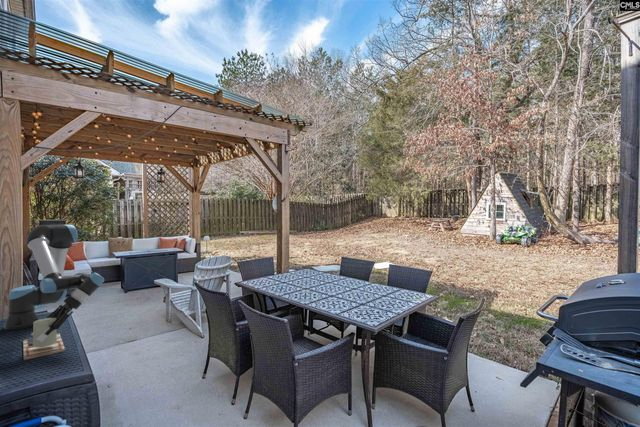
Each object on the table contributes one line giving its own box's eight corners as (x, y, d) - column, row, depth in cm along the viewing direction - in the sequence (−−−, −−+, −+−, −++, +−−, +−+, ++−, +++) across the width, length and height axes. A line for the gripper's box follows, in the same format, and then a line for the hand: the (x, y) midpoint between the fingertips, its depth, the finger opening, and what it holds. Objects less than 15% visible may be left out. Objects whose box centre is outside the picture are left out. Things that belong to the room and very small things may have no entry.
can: (42, 348, 153) (43, 323, 153) (27, 346, 155) (27, 322, 155) (61, 341, 162) (62, 317, 162) (47, 339, 164) (47, 316, 164)
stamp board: (23, 342, 168) (23, 338, 168) (59, 335, 178) (59, 331, 178) (23, 360, 148) (23, 356, 148) (64, 351, 158) (64, 347, 158)
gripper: (89, 306, 164) (49, 347, 151) (74, 299, 177) (37, 336, 164) (77, 298, 160) (35, 339, 147) (63, 292, 173) (23, 329, 160)
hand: (36, 338), depth 156 cm, fingers closed on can, 9 cm apart
